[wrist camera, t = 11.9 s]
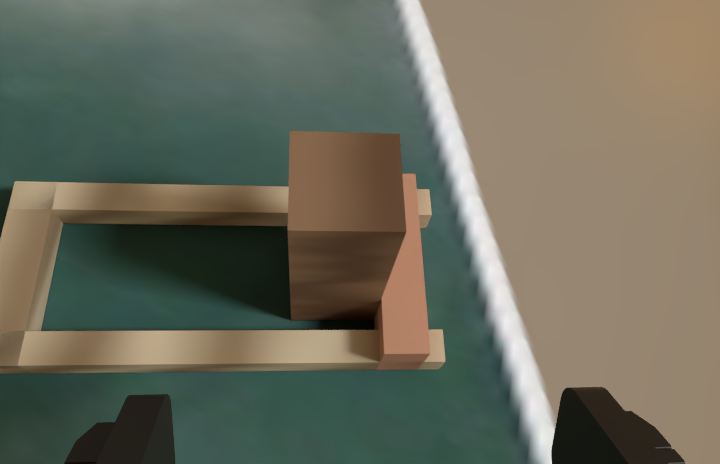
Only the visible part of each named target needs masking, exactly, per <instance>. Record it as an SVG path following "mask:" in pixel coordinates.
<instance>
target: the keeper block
mask: <svg viewBox="0 0 720 464" xmlns="http://www.w3.org/2000/svg"><path fill="white" fill-rule="evenodd" d="M405 234H406V218H405V205H404V191H403V177H402V163H401V149H400V135H399V134H380V133H345V132H310V131H290V153H289V194H288V253H289V278H290V303H291V321H309V320H374V317H375V314H376V312H377V309H378V306H379V304H380V301H381V298H382V296H383V293H384V290H385V288H386V285H387V282H388V280H389V277H390V274H391V272H392V269H393V266H394V264H395V261H396V258H397V256H398V253H399V250H400V248H401V245H402V242H403V240H404V237H405Z"/></svg>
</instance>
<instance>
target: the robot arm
mask: <svg viewBox="0 0 720 464" xmlns="http://www.w3.org/2000/svg"><path fill="white" fill-rule="evenodd" d="M65 464H175V450H174V436H173V423H172V409H171V400H170V396H169V395H168V394H162V395H129V396H128V397H127V398H126V400H125V402H124V404H123V406H122V409H121V411H120V413H119V415H118V417H117V419H116V421H115V422H105V423H96V424H95V425H94V426H93V427H92V428H91V429H90V430H88V431H87V432H86V433H85V434H84V435H83V436H81V437H80V438H79V439H78V440H77V441H76V442H75V444H74V446H73V448H72V450H71V451H70V453H69V455H68V457H67V459H66V461H65ZM552 464H685V462H684V460H683V459H682V458H681V456H680V455H679V454H678V453H677V452H676V451H675V450H674V449H671V445H670V444H669V443H668V442H667V440H666V439H665V438H664V437H663V436H662V435H661V434H660V432H659V431H658V430H657V429H656V428H655V427H654V426H652V425H651V424H649V423H648V422H647V421H645V420H643V419H642V418H641V417H639V416H638V415H636V414H634V413H633V412H632V411H624V410H623V409H622V407H621V406H620V405H619V404H618V403H617V401H616V400H615V399H614V398H613V396H611V394H610V393H609V392H608V391H607V390H606V389H605V388H602V387H581V388H566V389H565V390H564V391H563V393H562V396H561V401H560V406H559V412H558V418H557V423H556V428H555V434H554V439H553V445H552Z"/></svg>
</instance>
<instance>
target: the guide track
mask: <svg viewBox="0 0 720 464" xmlns="http://www.w3.org/2000/svg"><path fill="white" fill-rule="evenodd" d="M402 177H403V191H404V205H405V218H406V234H405V237H404V240H403V242H402V245H401V248H400V250H399V253H398V256H397V258H396V261H395V264H394V266H393V269H392V272H391V274H390V277H389V280H388V282H387V285H386V288H385V290H384V293H383V296H382V298H381V301H380V304H379V306H378V309H377V312H376V314H375V317H374V330H217V331H41V327H42V323H43V318H44V313H45V308H46V303H47V299H48V294H49V289H50V284H51V279H52V275H53V270H54V265H55V260H56V255H57V251H58V246H59V241H60V236H61V231H62V226H63V223H78V224H155V225H232V226H288V194H289V187H277V186H225V185H174V184H122V183H71V182H19V181H15V183H14V187H13V191H12V195H11V199H10V203H9V207H8V211H7V215H6V218H5V222H4V226H3V230H2V234H1V238H0V374H25V373H120V372H215V371H309V370H404V369H439V368H440V367H441V366H442V365H443V364H444V363H445V351H444V341H443V330H428V319H427V307H426V295H425V283H424V271H423V259H422V247H421V235H420V228H426V227H427V225H428V222H429V220H430V218H431V215H432V213H431V202H430V192H429V189H417V187H416V175H415V174H402Z"/></svg>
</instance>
